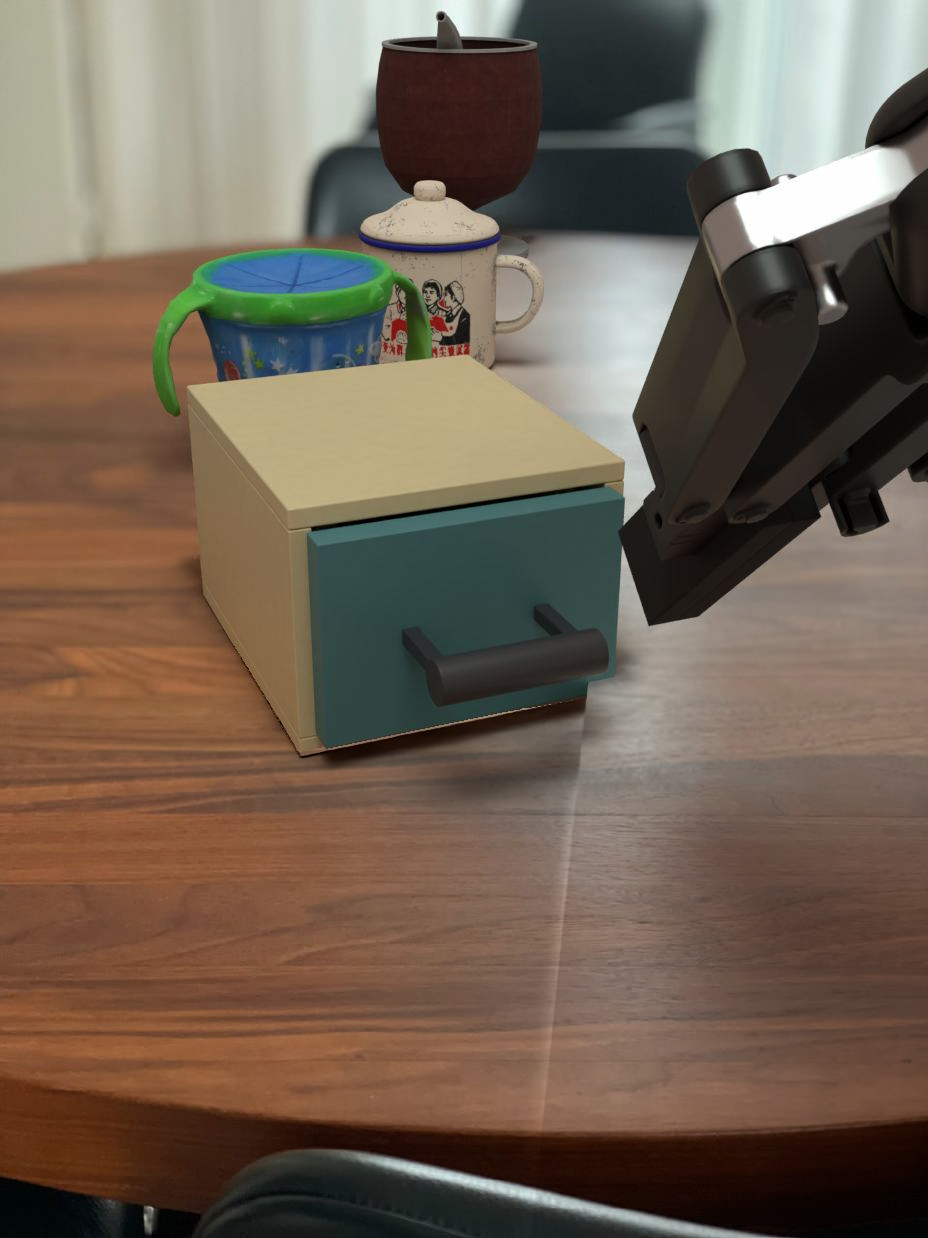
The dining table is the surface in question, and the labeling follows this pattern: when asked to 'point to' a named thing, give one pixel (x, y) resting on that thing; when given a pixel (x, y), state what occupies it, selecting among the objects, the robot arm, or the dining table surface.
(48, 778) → the dining table surface
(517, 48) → the mate gourd
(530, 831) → the dining table surface
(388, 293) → the snack cup
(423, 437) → the cabinet
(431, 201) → the teacup with lid
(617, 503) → the drawer
